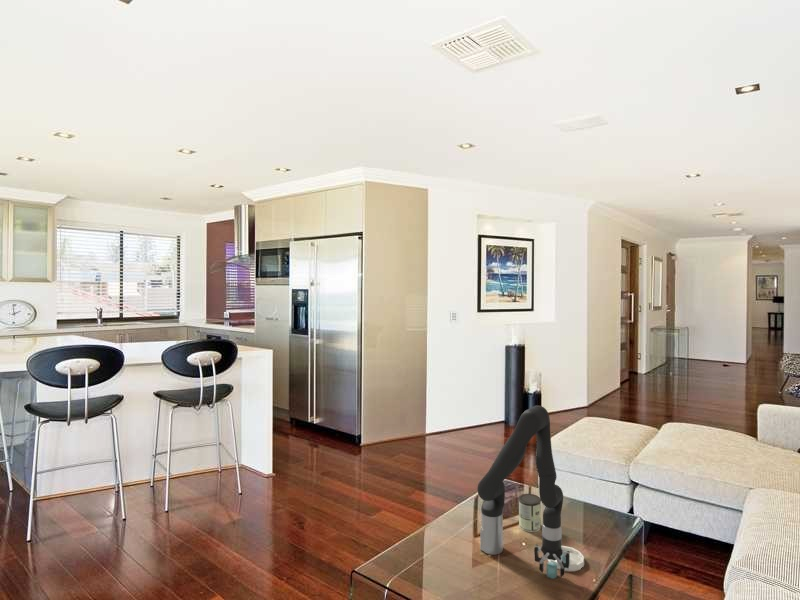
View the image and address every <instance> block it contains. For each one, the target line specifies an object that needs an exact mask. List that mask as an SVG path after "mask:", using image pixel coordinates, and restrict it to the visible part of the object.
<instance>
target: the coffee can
mask: <svg viewBox="0 0 800 600" xmlns="http://www.w3.org/2000/svg"><path fill="white" fill-rule="evenodd" d="M541 503H542V502H541V499H540V496H538V495H537V494H533V493H523V494H520V495H519V496H518V520H519V521H518V527H519V529H521V530H522V531H524V532H527V533H528V532H529V533H536V532H540V530H541V529H542V525H541V524H542V523H541V519H542V518H541V515H542V514H541V508H542V505H541Z"/></svg>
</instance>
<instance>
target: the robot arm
mask: <svg viewBox="0 0 800 600" xmlns="http://www.w3.org/2000/svg"><path fill="white" fill-rule="evenodd" d="M550 418H551V417H550V414H549V412H548V410H547V409H546V408H545V406H543V405H537V404H536V405H534V406H532V407H530V408H528V409H526V410H524V412H523V413H521V415H520V417H519V418H518V421H517V424H516V425H515V428H514V429H513V431H512V433H511V434H510V435H509V437H508V438H507V440H506V442H505V443H504V445H503V446H502V448H501V449H500V451H499V452H498V454H497V456H496V458H495V459H494V461H493V462H492V464H491V466H490V468H489V470H488V471H486V472H487V473H486V474H485V475H483V477H482V478H481V480H480V481H479V482H478V484H477V488H476V489H477V494H478V496H479V498H480V499H481V500H483V503H482V504H481V509H480V510H481V511H480V512H481V527H480V531H479V533H480V540H479V541H480V542H479V544H480V545H479V546H480V551H482V552H483V553H485V554H486V555H487V554H488V555H493V556H497V555H499V554H501V553H502V552H503V551H504V550H503V549H504V545H503V544H504V542H503V540H504V535H503V534H504V533H503V530H504V529H503V526H504V525H503V522H504V521H503V510H504V507H505V501H506V499H505V498H506V495H505V494H506V489H505V483H504V480H505V479H507V478H508V477H509V476H510V475H511V474H512V473H514V472H515V470H516V469H517V468H518V467H519V465H520V463H521V462H522V461H523V459H524V458H525V455H526V451H527V447H528V444H529V442H530V441H531V439H532V438H533V437H534V436H536V451H535V465H536V466H535V467H536V470H537V474H538V475H537V476H538V492H539V497H540V499H541V503H542V504H543V506H544V507H545V508H544V510H543V512H542V526H541V529H542V531H541V536H542V538H541V540H542V543H541V546H539V545H538V544H535V546H534V549H533V552H534V554H533V555H534V561H535V562H537V563H538V565H539V571H540V573H544V569H545V568H544V567H545V566H544V565H545V564H544V562H545V561H546V560H547V558H548V559H549V560H554V561H557V563H558V564H559V565H560V567H561V568H560V570H559V572H560V573H559V574H560V575H559V576H560V577H561V578H563V577H564V575H565V571H564V568H569V561H570V552H569V551H567V552H565V551H563V550H562V546H563V545H562V542H563V540H562V538H563V537H562V536H563V533H562V530H563V529H562V508H563V505H564V504H563V503H564V493H563V489H562V488H561V487H560V486H559V485H557V484H556V481H557V472H556V465H555V462H554V457H553V456H554V455H553V449H552V448H553V447H552V437H551V422H550ZM540 552H542V556H541V557H540V556H539V555H540V554H539V553H540ZM562 554H563V555H564V557H565V558H566V563H564V562H563V560H562V557H561V555H562ZM560 577H559V578H560Z"/></svg>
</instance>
